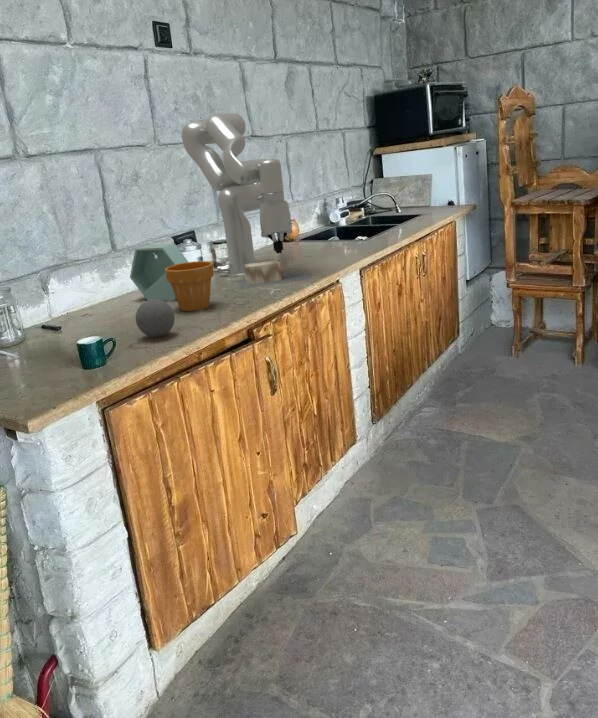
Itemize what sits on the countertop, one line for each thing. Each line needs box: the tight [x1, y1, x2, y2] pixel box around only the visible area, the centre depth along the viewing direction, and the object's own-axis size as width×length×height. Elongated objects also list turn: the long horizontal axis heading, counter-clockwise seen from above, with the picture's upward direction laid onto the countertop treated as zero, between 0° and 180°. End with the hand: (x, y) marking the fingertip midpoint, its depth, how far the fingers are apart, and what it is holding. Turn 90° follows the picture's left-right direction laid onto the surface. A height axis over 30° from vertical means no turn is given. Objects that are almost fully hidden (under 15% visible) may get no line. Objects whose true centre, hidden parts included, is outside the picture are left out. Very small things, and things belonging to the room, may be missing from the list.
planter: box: [129, 242, 189, 302], centre depth 225 cm, size 17×8×21 cm
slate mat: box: [236, 271, 312, 289], centre depth 236 cm, size 24×14×1 cm, turn 101°
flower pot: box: [165, 260, 215, 312], centre depth 208 cm, size 14×14×13 cm
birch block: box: [244, 259, 283, 285], centre depth 235 cm, size 6×6×12 cm
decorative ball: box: [135, 299, 176, 338], centre depth 180 cm, size 10×10×10 cm
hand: (278, 252), depth 234 cm, fingers closed
